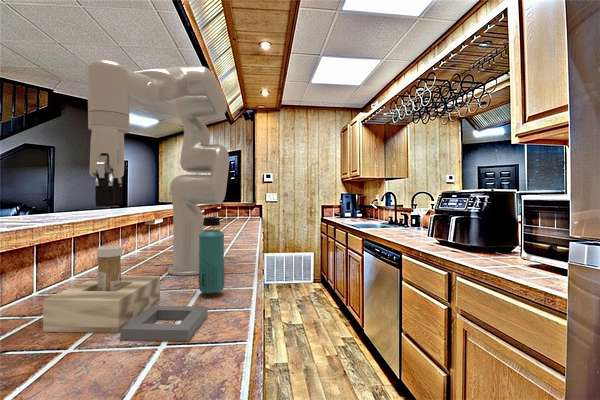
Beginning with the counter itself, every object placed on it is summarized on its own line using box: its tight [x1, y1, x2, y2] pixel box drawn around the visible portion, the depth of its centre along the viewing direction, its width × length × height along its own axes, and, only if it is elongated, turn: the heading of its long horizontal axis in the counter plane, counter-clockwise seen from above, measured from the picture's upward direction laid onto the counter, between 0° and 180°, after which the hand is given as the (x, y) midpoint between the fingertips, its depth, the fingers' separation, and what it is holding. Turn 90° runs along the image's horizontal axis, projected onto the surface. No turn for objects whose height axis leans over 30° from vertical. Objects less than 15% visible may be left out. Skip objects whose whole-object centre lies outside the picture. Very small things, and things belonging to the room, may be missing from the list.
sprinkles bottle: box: [96, 244, 123, 291], centre depth 70 cm, size 5×5×14 cm
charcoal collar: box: [119, 305, 209, 342], centre depth 64 cm, size 12×12×2 cm
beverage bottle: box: [197, 216, 225, 294], centre depth 84 cm, size 6×7×20 cm
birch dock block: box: [42, 274, 161, 334], centre depth 70 cm, size 18×14×6 cm
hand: (110, 205), depth 70 cm, fingers open, 9 cm apart
